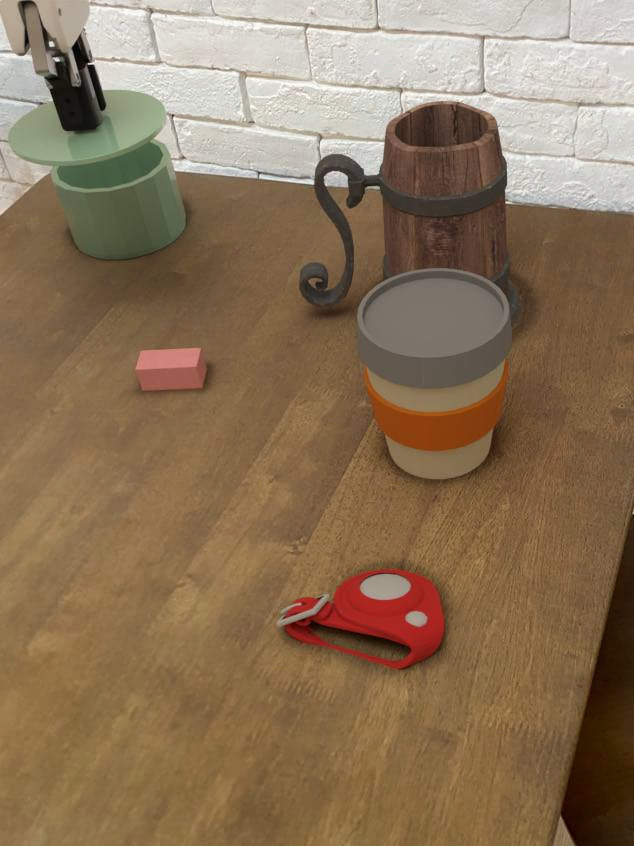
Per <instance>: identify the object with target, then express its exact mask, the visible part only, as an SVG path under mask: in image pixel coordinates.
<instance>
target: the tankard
mask: <svg viewBox="0 0 634 846" xmlns="http://www.w3.org/2000/svg"><path fill="white" fill-rule="evenodd" d="M498 125H499V124H498V122H497V120H496V117H495V116H494V115H493V114H492V113H490V112H488V111H486V110H483V109H479V108H477V107H474V106H472V105H470V104H467V103H464V102H461V101H454V100H438V101H430V102H425V103H421V104H417V105H416V106H413V107H411V108H410V109H408V110H406V111H405V112H403V113H402V114H399V115H398V116H396V117H394V118H393V119H391V120H390V121H389V122H388V124H387V125H386V126H385V127H386V128H385V133H384V144H383V153H382V162H381V164H380V166H379V170H378V173H377V174H370V175H367V174H365V169H364V168H363V167H362V166H361V165H360V164H359V163H358V162H357V161H356V160H355V159H353V158H352V157H350V156H348V155H345V154H342V153H331V154H328V155H326V156H324V157H322V158H321V159H320V160H319V161H318V163H317V165H316V167H315V168H314V178H313V179H314V180H313V189H314V193H315V197H316V199H317V201H318V204H319V205H320V208H321V209H322V210H323V212H324V213H325V214H326V216H327V217H328V218H329V220H330V222H332V224H333V225H334V226H335V228H336V230H337V232H338V233H339V236H340V238H341V241H342V244H343V249H344V254H345V264H344V270H343V272H342V275H341V279H340V280H339V282H338V283H337V284H336V285H335V286H334V287H332V288H330V289H327V288H328V285H329V272H328V269H327V268H326V266H325V265H324V264H323V263H321V262H318V261H313V262H312V261H311V262H308V263H306V264H304V265H303V266H302V268H301V269H300V271H299V282H298V286H299V287H298V289H299V292H300V294H301V296H302V298H304V300H305V301H306V302H307V303H309V304H310V305H312V306H314V307H316V308H322V309H325V308H332V307H334V306H336V305H339V304H340V303H341V302H342V301H343V300H344V299H345V298H346V297H347V295H348V293H349V291H350V288H351V286H352V283H353V282H352V281H353V276H354V271H355V270H354V269H355V268H354V267H355V245H354V238H353V237H354V236H353V233H352V230H351V226H350V224H349V221H348V219H347V217H346V215H345V213H344V211H343V210H342V209H341V208H340V206H339V205H338V203H337V202H336V201H335V199H334V198H333V197H332V195H331V194H330V192H329V190H328V188H327V186H326V183H325V180H324V179H325V176H327V175H328V174H329V173H332V172H338V173H342V174H344V175H345V176H346V177H347V187H348V195H347V197H346V199H345V205H346V207H347V208H348V209H349V210H352V209H354V208H356V207H357V206H358V205H359V204H360V203H362V200H363V198H364V195H365V194H366V189H367V188H369V187H370V188H371V187H378V188H379V192H380V195H381V196H382V217H383V219H382V220H383V237H384V238H383V240H384V255H383V258H382V279H383V281H385V280H387V279H389V278H391V277H394V276H396V275H399V274H402V273H406V272H410V271H414V270H421V269H429V268H447V269H457V270H462V271H467V272H471V273H474V274H477V275H479V276H482V277H484V278H486V279H488V280H489V281H491V282H493V283H494V284H495V285H496V286H498V287H499V288H500V289H501V291H502V292H503V293H504V294H505V296H506V298H507V301H508V303H509V310H510V320H511V329H512V328H513V327H514V325H515V324H516V323H517V322H518V320H519V318H520V315H521V313H522V300H521V297H520V295H519V292H518V291H517V288H516V286H515V285H514V283H513V282H512V281H511V279H510V277H511V254H510V252H509V251H510V250H509V248H508V247H507V246H508V245H507V214H506V213H507V210H506V208H507V207H506V205H507V204H506V189H507V186H508V162H507V160H506V158H505V156H504V154H503V149H502V144H501V143H502V142H501V137H500V131H499V126H498ZM312 279H317V280H318V281H315V283H314V284H315V286H313V285H312V284H311V283H310V280H312ZM319 280H320V281H319Z"/></svg>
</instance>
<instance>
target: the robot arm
mask: <svg viewBox="0 0 634 846" xmlns="http://www.w3.org/2000/svg"><path fill="white" fill-rule="evenodd" d="M90 13H91V6H90V2H89V0H0V18H1V22H2V24H3V28H4V30H5V34H6V37H7V39H8V42H9V45H10V48H11V50H12V52H13V53H14V54H15V55H16V56H17V57H24V56H26V54H27V53H28V52H29V51H30V54H31V59H32V65H33V68H34V69H33V70H34V72H35V74H36V75H37V76H40V77H43V80H44V82H45V86H46V88H47V89H48V91H49V93H50V96H51V99H52V101H53V102H54V105H55V108H56V111H57V114H58V117H59V120H60V123H61V126H62V128H63V130H65V131H81V130H94V129H96V128H97V126H98V121H97V118H96V115H95V112H94V109H93V105H92V102H91V99H90V96H89V92H88V89H87V86H86V83H85V82H81V81H80V76H79V73H78V69H77V66H76V62H75V61H82V62H85V63H86V64H87V68H88V71H89V74H90V77H91V81H92V84H93V87H94V91H95V94H96V97H97V100H98V104H99V107H100V110H101V111H104V110H105V108H106V102H105V98H104V95H103V92H102V90H103V89H102V85H101V82H100V78H99V75H98V72H97V68H96V65H95V63H94V55H93V53H92V49H91V46H90V43H89V40H88V37H87V32H86V28H85V26H86V24H87V22H88V20H89V17H90ZM50 42H51V43H53V46H50ZM54 58H58V60H57V61H56V60H55V59H54ZM64 62H65V64H66V66H65V65H64V64H63V63H64Z"/></svg>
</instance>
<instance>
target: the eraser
mask: <svg viewBox="0 0 634 846" xmlns="http://www.w3.org/2000/svg"><path fill="white" fill-rule="evenodd" d="M134 370H135V373H136V376H137V379H138V382H139V384H140V387H141V391H143V392H145V391H146V392H147V391H148V392H149V391H167V390H187V389H203V387H204V384H205V379H206V374H207V371H208V368H207V365H206V361H205V357H204V353H203V349H202V347H190V348H189V347H188V348H186V347H185V348H170V349H169V348H168V349H167V348H165V349H150V350H149V349H148V350H147V349H146V350H140V352H139V356H138V359H137V362H136V366H135V369H134Z"/></svg>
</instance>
